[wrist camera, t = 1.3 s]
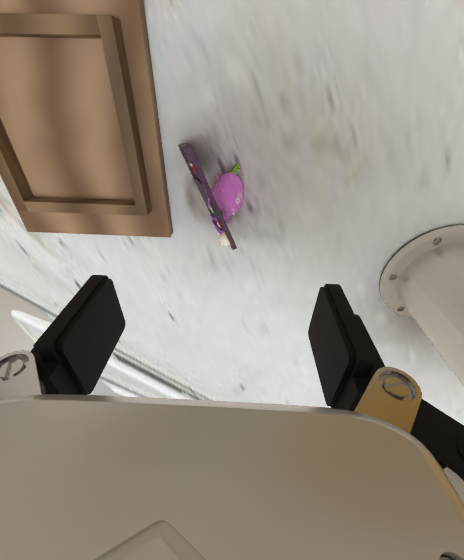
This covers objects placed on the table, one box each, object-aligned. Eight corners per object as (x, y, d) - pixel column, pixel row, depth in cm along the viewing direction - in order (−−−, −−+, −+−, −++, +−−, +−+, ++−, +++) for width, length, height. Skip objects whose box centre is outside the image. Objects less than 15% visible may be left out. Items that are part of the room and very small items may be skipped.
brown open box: (138, -38, 18) (122, -57, 15) (172, 232, 29) (166, 243, 27) (-88, -40, 18) (-134, -58, 16) (34, 227, 30) (17, 237, 28)
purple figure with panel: (176, 151, 18) (226, 254, 23) (241, 119, 19) (278, 227, 23) (170, 149, 24) (211, 232, 29) (220, 124, 24) (253, 210, 29)
